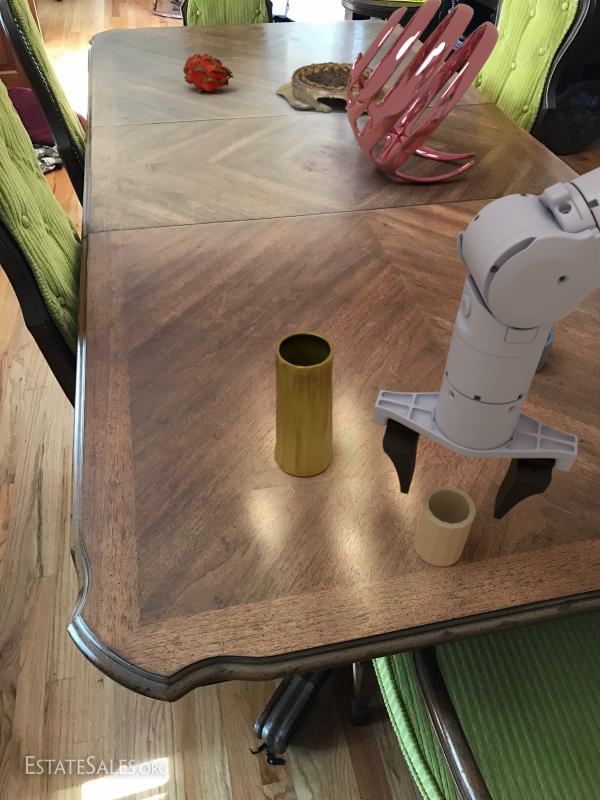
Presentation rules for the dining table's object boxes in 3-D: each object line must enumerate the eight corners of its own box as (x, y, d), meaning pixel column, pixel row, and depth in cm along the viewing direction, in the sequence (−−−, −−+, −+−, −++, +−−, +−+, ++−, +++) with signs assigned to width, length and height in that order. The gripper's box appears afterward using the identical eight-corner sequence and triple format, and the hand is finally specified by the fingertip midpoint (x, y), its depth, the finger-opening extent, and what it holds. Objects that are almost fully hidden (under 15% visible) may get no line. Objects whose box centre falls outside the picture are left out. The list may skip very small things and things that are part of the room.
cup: (468, 537, 57) (482, 497, 53) (452, 575, 54) (466, 536, 50) (423, 517, 58) (433, 478, 54) (406, 553, 56) (415, 515, 51)
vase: (282, 483, 61) (279, 376, 51) (268, 439, 65) (263, 333, 56) (340, 470, 62) (348, 364, 52) (322, 428, 67) (327, 322, 57)
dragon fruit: (183, 94, 148) (231, 105, 148) (173, 81, 140) (223, 93, 139) (191, 57, 147) (239, 69, 146) (181, 41, 138) (232, 54, 138)
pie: (265, 82, 150) (264, 59, 147) (369, 72, 156) (371, 50, 153) (299, 122, 131) (299, 98, 127) (416, 110, 137) (419, 86, 133)
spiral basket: (565, 46, 104) (445, -72, 97) (526, 144, 90) (385, 14, 84) (456, 150, 127) (354, 60, 121) (412, 239, 114) (295, 144, 108)
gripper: (599, 362, 43) (544, 483, 52) (395, 320, 46) (378, 441, 56) (599, 432, 38) (539, 552, 48) (372, 379, 41) (358, 501, 51)
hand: (451, 496), depth 51 cm, fingers open, 7 cm apart
